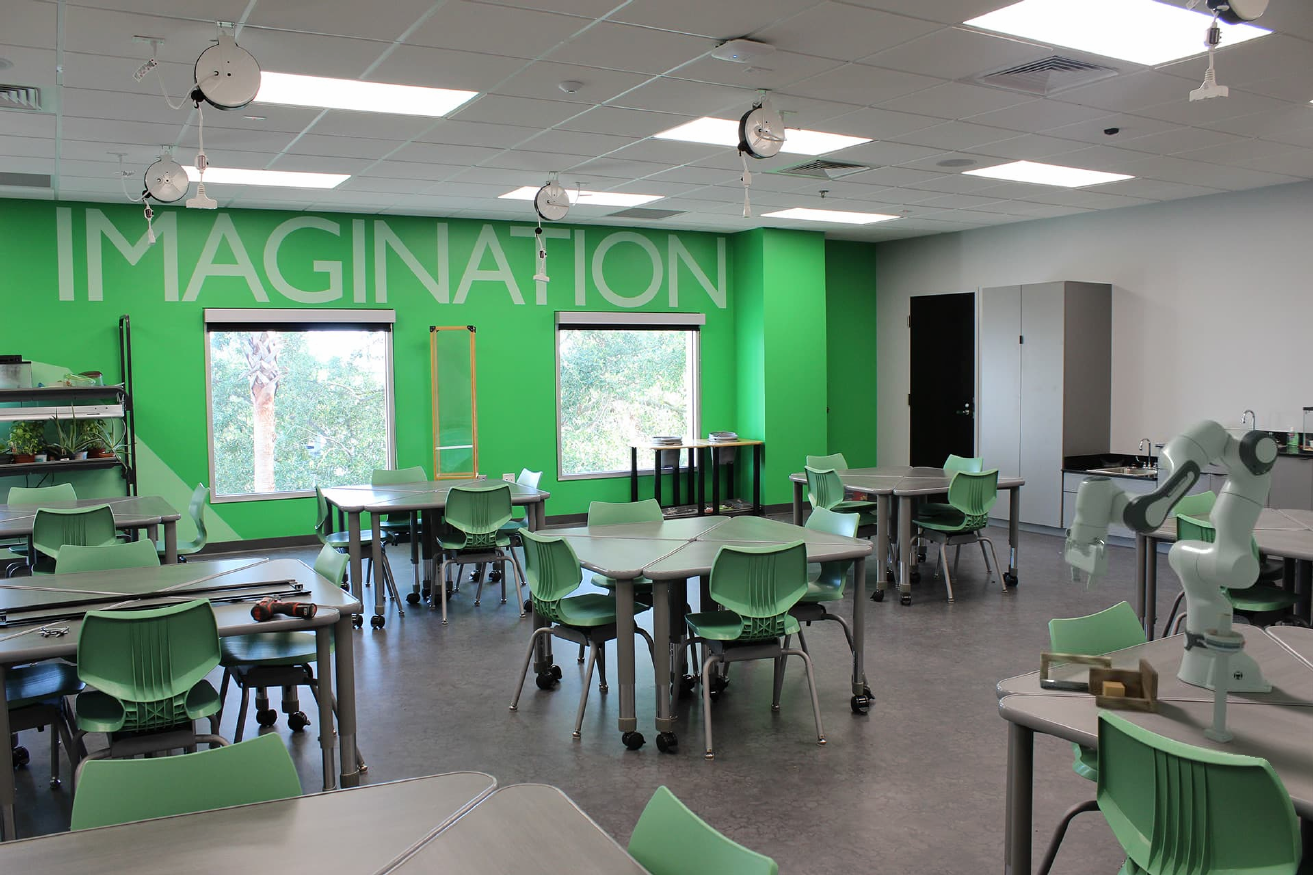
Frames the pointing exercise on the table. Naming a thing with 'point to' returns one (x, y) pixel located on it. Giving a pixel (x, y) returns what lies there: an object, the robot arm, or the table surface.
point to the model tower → (1221, 672)
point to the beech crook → (1070, 661)
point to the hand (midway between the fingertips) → (1082, 585)
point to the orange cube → (1113, 689)
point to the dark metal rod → (1064, 685)
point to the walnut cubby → (1127, 687)
